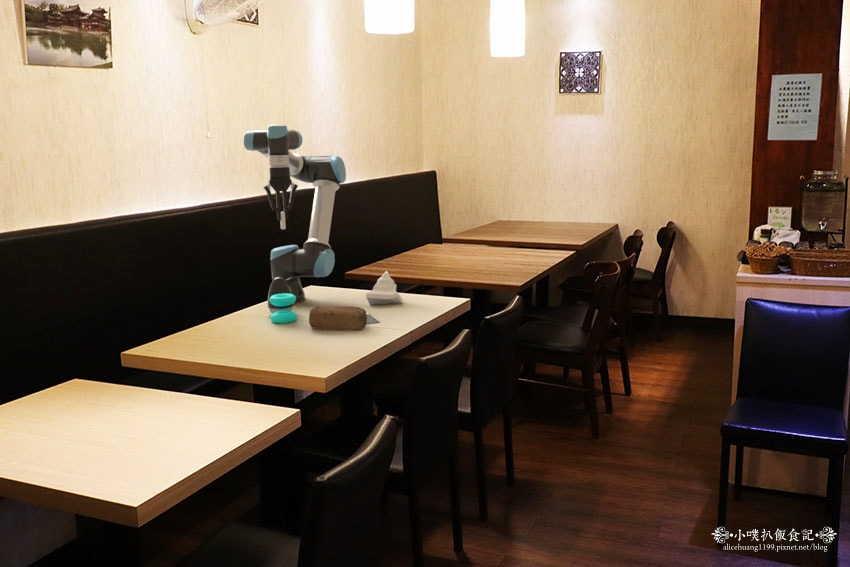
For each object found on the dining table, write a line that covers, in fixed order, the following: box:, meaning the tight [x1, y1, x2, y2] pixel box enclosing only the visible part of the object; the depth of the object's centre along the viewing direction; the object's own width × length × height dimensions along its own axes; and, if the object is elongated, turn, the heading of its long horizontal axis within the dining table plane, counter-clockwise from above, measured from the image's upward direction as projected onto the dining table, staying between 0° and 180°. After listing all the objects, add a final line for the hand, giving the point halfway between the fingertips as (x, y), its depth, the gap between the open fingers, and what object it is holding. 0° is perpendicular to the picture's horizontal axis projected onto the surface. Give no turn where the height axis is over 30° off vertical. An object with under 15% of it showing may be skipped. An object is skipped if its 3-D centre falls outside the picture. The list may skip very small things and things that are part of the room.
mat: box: [366, 313, 380, 325], centre depth 298 cm, size 14×21×1 cm, turn 110°
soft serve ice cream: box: [365, 270, 404, 305], centre depth 327 cm, size 12×15×14 cm
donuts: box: [269, 293, 298, 324], centre depth 301 cm, size 10×10×10 cm
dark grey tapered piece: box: [267, 277, 295, 315], centre depth 311 cm, size 10×10×15 cm
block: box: [308, 305, 368, 331], centre depth 289 cm, size 11×8×20 cm
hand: (283, 228), depth 302 cm, fingers closed
